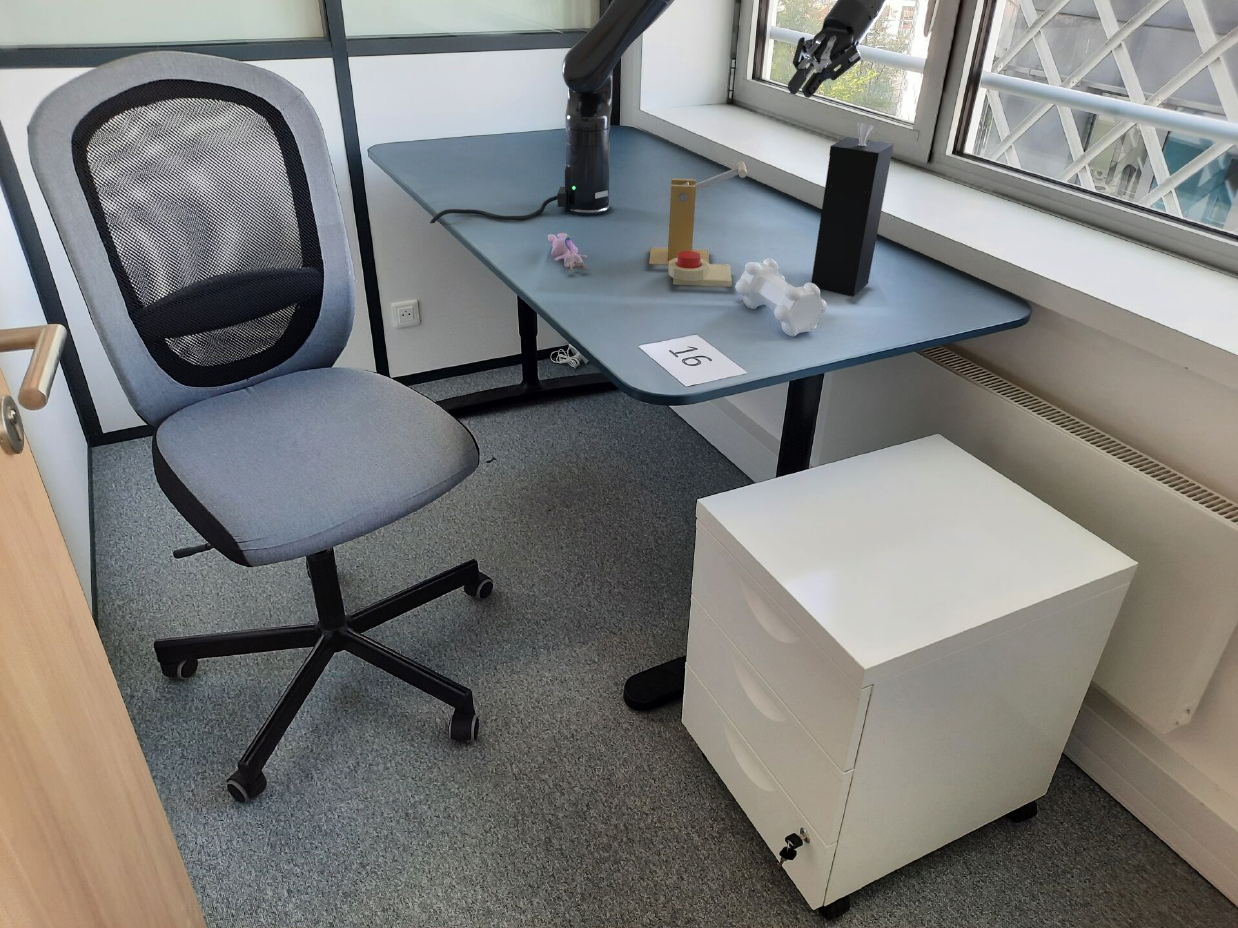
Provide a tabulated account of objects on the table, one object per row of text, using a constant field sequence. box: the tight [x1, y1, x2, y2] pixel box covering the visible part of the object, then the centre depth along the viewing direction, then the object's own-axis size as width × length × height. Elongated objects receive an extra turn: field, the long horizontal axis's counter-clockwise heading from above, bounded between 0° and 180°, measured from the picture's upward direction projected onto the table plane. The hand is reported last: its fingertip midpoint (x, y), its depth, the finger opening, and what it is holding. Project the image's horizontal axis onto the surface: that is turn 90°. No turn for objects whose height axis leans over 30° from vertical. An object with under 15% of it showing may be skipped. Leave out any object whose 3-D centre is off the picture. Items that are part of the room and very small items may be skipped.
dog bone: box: [735, 257, 828, 337], centre depth 141 cm, size 15×9×8 cm, turn 24°
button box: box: [667, 258, 733, 288], centre depth 154 cm, size 11×9×4 cm
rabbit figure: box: [547, 232, 588, 272], centre depth 162 cm, size 6×6×15 cm
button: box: [677, 251, 701, 269], centre depth 152 cm, size 4×4×2 cm
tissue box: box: [810, 121, 895, 297], centre depth 146 cm, size 8×8×28 cm
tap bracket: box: [648, 178, 710, 266], centre depth 160 cm, size 11×9×15 cm
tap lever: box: [682, 160, 748, 192], centre depth 156 cm, size 13×6×2 cm, turn 86°
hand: (798, 92), depth 154 cm, fingers open, 3 cm apart
